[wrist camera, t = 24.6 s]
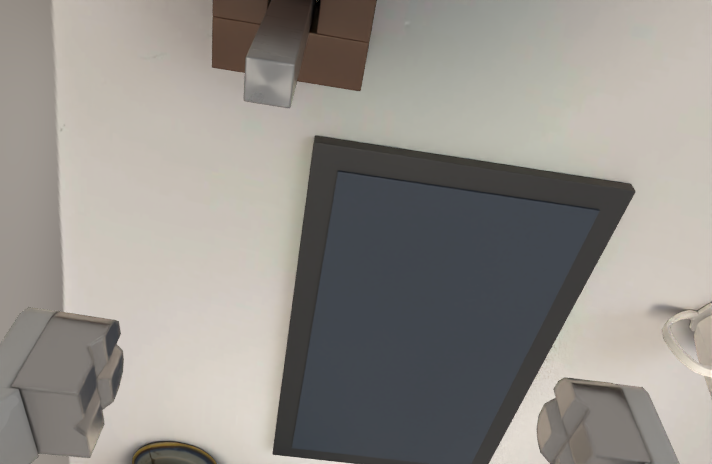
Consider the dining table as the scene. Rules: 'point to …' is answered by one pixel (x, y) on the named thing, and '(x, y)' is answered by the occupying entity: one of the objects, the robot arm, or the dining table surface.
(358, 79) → the brown block with hole
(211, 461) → the apothecary jar
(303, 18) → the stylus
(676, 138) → the dining table surface
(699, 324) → the cup
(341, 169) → the drawing tablet
